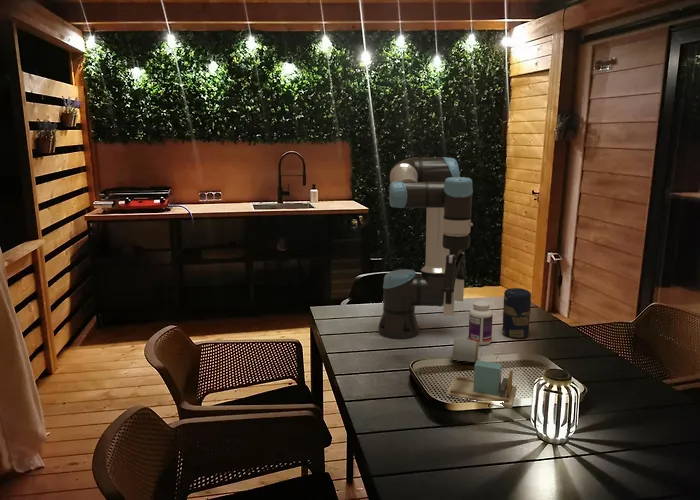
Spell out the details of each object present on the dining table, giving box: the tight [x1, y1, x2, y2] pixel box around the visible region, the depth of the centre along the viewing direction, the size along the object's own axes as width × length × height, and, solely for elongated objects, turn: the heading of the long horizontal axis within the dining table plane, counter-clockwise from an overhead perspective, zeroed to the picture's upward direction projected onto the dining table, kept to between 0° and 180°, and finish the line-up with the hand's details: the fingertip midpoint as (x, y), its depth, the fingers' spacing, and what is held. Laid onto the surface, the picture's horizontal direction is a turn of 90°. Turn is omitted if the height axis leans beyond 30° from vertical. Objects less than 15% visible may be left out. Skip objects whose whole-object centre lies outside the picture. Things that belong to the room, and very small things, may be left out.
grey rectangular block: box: [451, 336, 480, 363], centre depth 182 cm, size 11×8×8 cm
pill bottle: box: [468, 300, 494, 346], centre depth 196 cm, size 8×8×14 cm
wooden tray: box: [445, 370, 517, 409], centre depth 158 cm, size 18×12×7 cm, turn 68°
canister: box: [501, 287, 532, 339], centre depth 203 cm, size 10×10×18 cm
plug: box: [473, 359, 503, 396], centre depth 157 cm, size 7×4×8 cm, turn 67°
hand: (453, 307), depth 157 cm, fingers open, 13 cm apart
